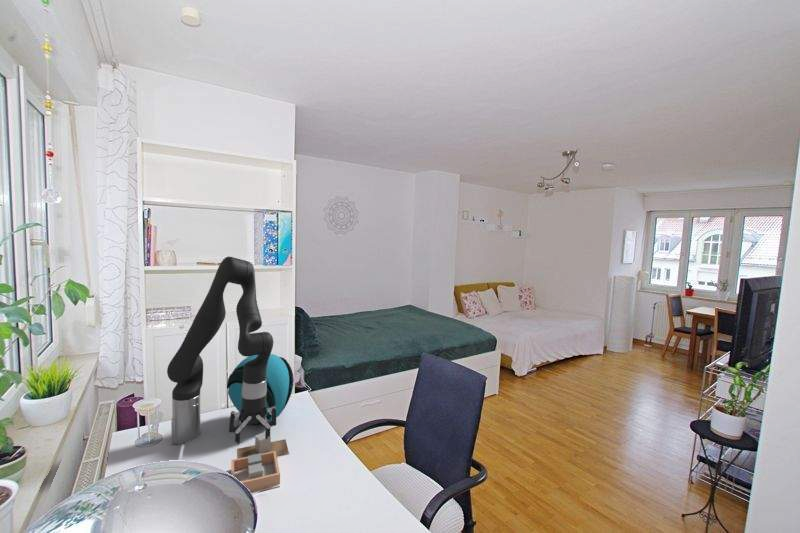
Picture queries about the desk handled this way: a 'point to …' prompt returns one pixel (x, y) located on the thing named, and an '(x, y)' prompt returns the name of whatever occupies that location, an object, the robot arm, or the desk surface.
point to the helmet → (277, 384)
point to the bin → (260, 481)
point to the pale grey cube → (262, 443)
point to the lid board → (275, 446)
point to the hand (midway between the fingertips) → (252, 440)
